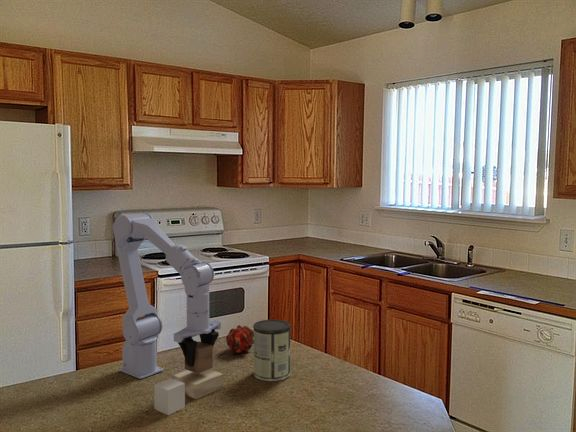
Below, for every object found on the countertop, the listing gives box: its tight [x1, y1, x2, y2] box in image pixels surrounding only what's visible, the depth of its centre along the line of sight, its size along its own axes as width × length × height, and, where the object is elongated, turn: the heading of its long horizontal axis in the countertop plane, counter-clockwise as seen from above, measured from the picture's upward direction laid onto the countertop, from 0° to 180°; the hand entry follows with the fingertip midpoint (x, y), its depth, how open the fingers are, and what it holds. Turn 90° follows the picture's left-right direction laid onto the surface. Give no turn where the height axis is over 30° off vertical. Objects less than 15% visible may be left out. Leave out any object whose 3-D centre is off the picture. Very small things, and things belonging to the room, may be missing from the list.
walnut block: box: [184, 341, 214, 374], centre depth 133 cm, size 5×5×6 cm
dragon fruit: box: [225, 324, 254, 355], centre depth 161 cm, size 8×8×12 cm
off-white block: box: [153, 377, 186, 416], centre depth 122 cm, size 5×5×6 cm
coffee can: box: [252, 319, 292, 382], centre depth 143 cm, size 10×10×14 cm
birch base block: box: [172, 368, 224, 400], centre depth 134 cm, size 9×9×4 cm
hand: (198, 362), depth 133 cm, fingers closed on walnut block, 5 cm apart
